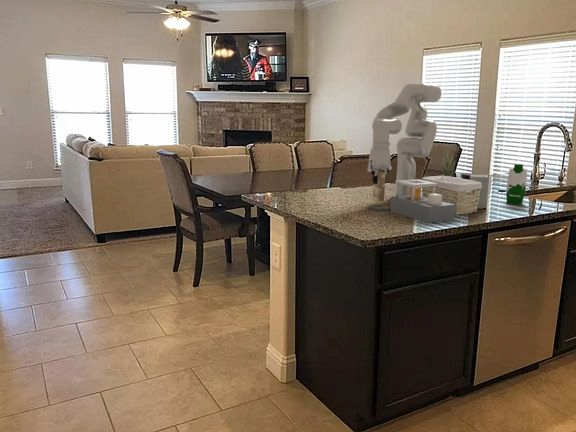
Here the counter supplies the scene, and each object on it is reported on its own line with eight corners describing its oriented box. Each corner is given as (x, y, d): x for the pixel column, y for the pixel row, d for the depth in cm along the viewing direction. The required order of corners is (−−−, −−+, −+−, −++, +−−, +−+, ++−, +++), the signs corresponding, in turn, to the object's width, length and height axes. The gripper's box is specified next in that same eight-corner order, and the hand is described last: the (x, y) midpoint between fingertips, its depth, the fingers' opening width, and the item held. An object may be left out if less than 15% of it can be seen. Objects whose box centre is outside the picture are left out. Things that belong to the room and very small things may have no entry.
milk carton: (504, 203, 258) (509, 164, 254) (505, 200, 266) (509, 162, 262) (523, 205, 255) (528, 165, 250) (523, 202, 263) (528, 163, 258)
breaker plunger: (406, 204, 230) (407, 186, 228) (415, 203, 232) (416, 186, 230) (413, 206, 226) (414, 188, 224) (422, 205, 228) (423, 188, 226)
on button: (427, 209, 218) (428, 193, 217) (434, 209, 220) (435, 193, 218) (433, 211, 215) (434, 195, 213) (440, 211, 216) (442, 194, 215)
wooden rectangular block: (379, 199, 251) (380, 171, 248) (384, 200, 248) (385, 172, 244) (372, 199, 249) (373, 171, 246) (377, 201, 246) (378, 172, 243)
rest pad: (381, 207, 243) (381, 206, 243) (389, 210, 237) (389, 208, 236) (368, 208, 240) (368, 207, 240) (377, 211, 234) (377, 209, 234)
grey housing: (390, 211, 234) (392, 180, 231) (414, 209, 240) (416, 178, 236) (428, 223, 211) (430, 188, 208) (453, 220, 217) (457, 187, 214)
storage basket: (481, 213, 234) (484, 181, 231) (457, 216, 226) (460, 183, 222) (441, 204, 254) (443, 175, 251) (417, 207, 246) (419, 176, 242)
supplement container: (478, 198, 273) (480, 175, 270) (457, 196, 276) (459, 174, 274) (478, 195, 283) (480, 173, 280) (458, 193, 286) (460, 172, 283)
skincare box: (485, 206, 249) (488, 174, 245) (486, 209, 242) (489, 176, 239) (467, 205, 251) (470, 173, 248) (467, 208, 245) (470, 175, 241)
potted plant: (436, 187, 306) (439, 146, 301) (452, 188, 305) (456, 147, 299) (438, 190, 296) (442, 147, 291) (455, 190, 295) (459, 148, 290)
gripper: (390, 144, 249) (388, 181, 253) (361, 145, 242) (360, 183, 246) (399, 145, 242) (397, 183, 247) (370, 147, 235) (368, 186, 240)
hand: (379, 183), depth 247 cm, fingers closed on wooden rectangular block, 4 cm apart
